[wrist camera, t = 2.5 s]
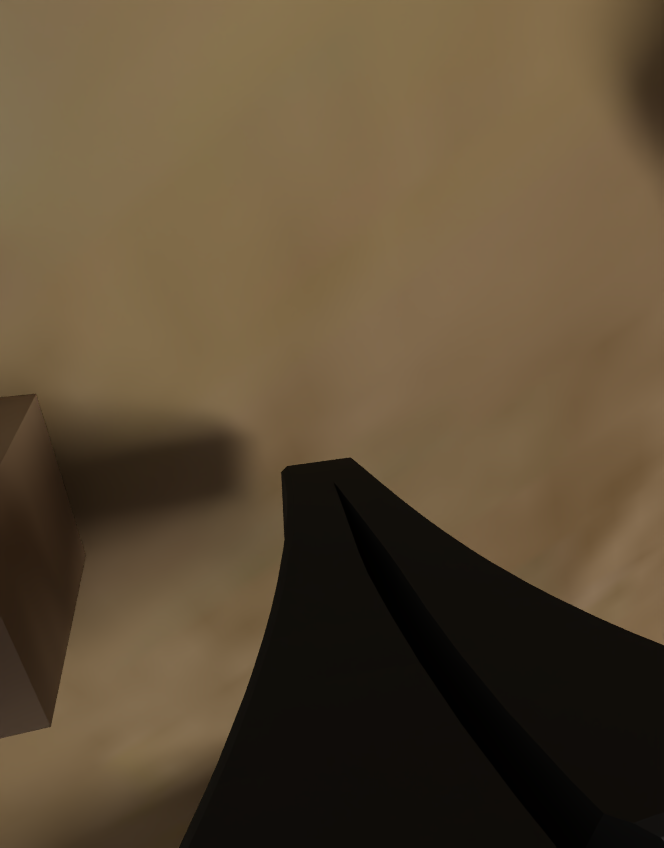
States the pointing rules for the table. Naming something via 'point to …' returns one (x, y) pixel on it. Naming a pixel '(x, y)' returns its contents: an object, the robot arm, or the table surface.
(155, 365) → the table surface
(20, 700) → the block walnut
